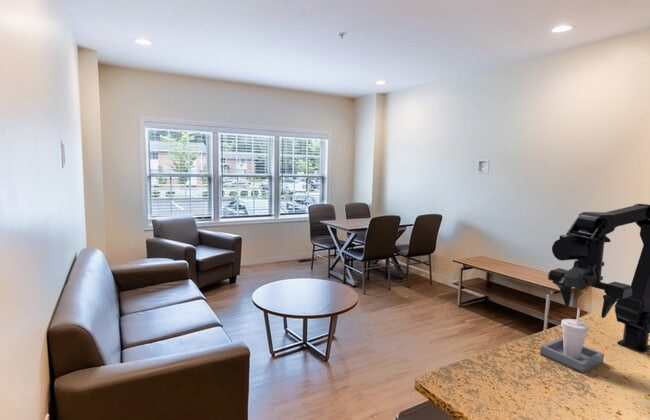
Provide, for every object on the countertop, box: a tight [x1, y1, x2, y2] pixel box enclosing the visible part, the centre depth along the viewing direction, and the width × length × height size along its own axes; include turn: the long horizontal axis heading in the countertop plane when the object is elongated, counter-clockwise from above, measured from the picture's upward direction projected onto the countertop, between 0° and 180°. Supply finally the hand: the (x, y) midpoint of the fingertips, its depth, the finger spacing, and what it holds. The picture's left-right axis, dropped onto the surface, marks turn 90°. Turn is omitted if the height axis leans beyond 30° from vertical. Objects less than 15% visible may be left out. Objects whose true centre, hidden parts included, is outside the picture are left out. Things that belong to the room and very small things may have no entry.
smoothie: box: [560, 307, 590, 360], centre depth 102 cm, size 6×6×14 cm
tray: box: [539, 336, 605, 374], centre depth 102 cm, size 11×11×2 cm
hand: (584, 311), depth 103 cm, fingers open, 9 cm apart
